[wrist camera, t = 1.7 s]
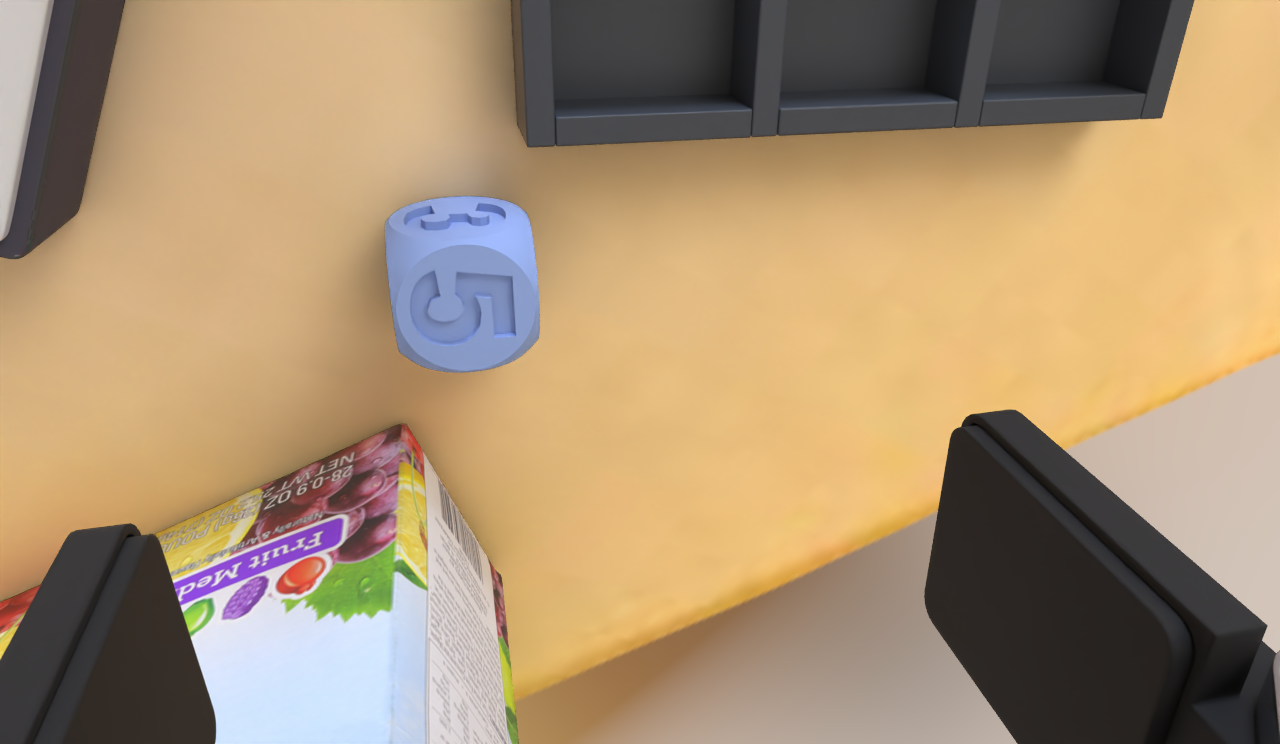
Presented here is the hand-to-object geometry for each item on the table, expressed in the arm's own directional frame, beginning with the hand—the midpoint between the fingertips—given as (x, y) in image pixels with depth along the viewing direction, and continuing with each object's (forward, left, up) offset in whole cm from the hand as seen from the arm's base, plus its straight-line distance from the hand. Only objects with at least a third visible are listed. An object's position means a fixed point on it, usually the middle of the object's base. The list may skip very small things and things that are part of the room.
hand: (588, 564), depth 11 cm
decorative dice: (-1, -3, -19) cm, 20 cm away
